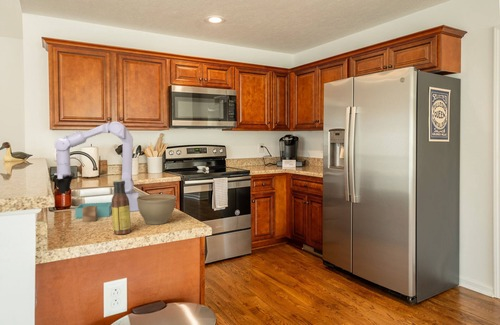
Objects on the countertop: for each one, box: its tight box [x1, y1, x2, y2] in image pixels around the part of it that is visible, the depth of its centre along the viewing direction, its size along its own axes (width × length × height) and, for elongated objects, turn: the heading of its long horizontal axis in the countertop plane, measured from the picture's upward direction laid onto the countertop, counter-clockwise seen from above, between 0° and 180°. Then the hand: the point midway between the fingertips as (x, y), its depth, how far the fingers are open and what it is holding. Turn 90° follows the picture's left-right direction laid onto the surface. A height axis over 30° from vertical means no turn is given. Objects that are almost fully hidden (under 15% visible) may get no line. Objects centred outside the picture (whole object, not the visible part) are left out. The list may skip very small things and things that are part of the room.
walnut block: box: [82, 206, 98, 223], centre depth 149 cm, size 5×5×6 cm
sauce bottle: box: [111, 179, 132, 236], centre depth 128 cm, size 6×6×20 cm
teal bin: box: [74, 201, 112, 219], centre depth 160 cm, size 14×12×4 cm
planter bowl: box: [137, 193, 177, 225], centre depth 146 cm, size 16×16×11 cm
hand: (64, 192), depth 163 cm, fingers open, 7 cm apart
